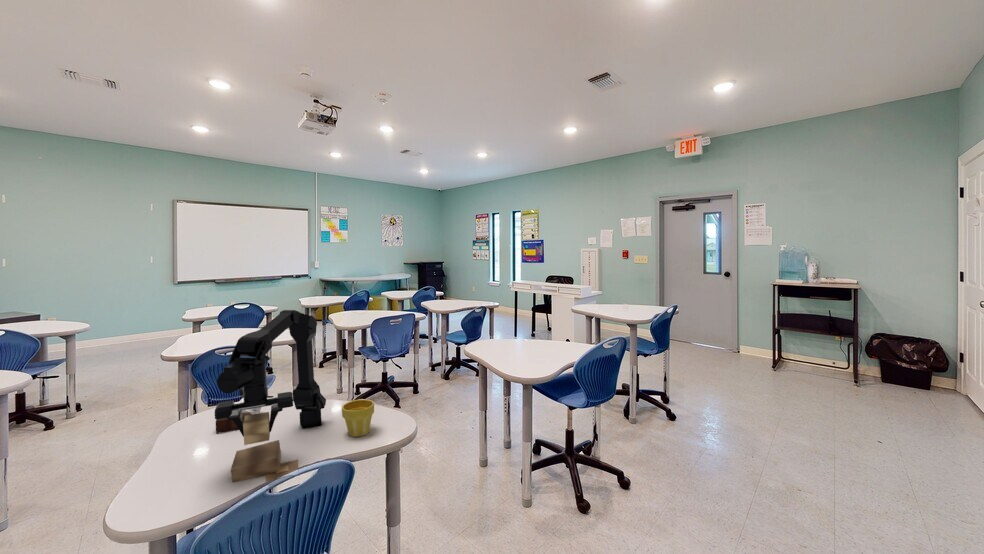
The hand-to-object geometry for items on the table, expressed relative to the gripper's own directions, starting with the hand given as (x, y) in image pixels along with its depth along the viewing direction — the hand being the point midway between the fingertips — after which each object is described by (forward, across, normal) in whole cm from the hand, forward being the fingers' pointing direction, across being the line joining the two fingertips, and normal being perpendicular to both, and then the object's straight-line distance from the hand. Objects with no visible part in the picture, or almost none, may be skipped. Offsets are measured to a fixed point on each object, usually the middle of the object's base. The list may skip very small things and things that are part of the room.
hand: (257, 433), depth 113 cm
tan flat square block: (+10, 0, 0) cm, 10 cm away
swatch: (+10, -6, +5) cm, 13 cm away
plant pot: (+11, -29, -10) cm, 32 cm away
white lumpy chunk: (+11, +7, -41) cm, 43 cm away
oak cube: (+1, 0, 0) cm, 1 cm away
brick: (+11, +9, -33) cm, 36 cm away
